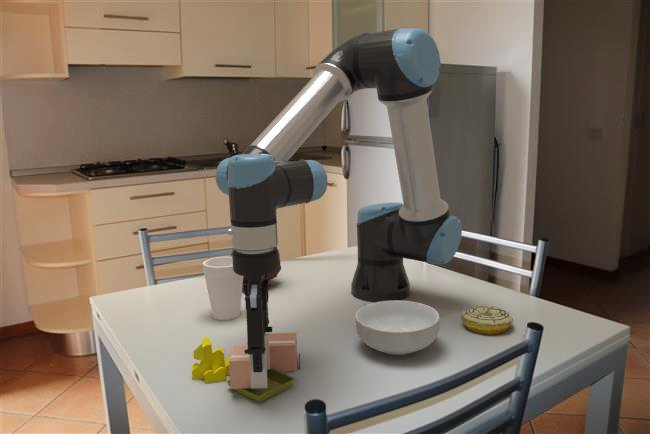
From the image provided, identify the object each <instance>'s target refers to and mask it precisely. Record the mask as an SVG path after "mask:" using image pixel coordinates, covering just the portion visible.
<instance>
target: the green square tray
mask: <svg viewBox="0 0 650 434" xmlns="http://www.w3.org/2000/svg"><path fill="white" fill-rule="evenodd" d="M295 380H296V378H295V377H293V376H291V375H289V374H286V373H284V372H283V371H277V370H275V369H273V368H270V370H267V383H268V387H267V388H256V389H251V388H244V389H233V390H234V391H236V392H237V393H239V394H242V395H244V396H246V397H248V398H250V399H252V400H255V401H256V402H259V403H261V402H263V401H264V400H265V401H266V400H267V399H268V398H271V397H273V396H274V395H276V394H278V393H280V392H282V391H284V390H286V389H288V388H289V387H290V386H291V385H292V384H293V383H294V382H295ZM226 383H227V385H228V386H229V387H230V388H231V386H230V379H228V380H226Z"/></svg>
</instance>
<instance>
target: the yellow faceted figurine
mask: <svg viewBox="0 0 650 434" xmlns="http://www.w3.org/2000/svg"><path fill="white" fill-rule="evenodd" d="M230 356H231V354H230V355H229V356H228V357H226V358H225V351H224V349H222V348H221V347H217V348H216V349H214V350H213V348H212V341H211V339H210V338H209V337H208V336H207V335H206V336H205V337H204V338H203V339H202V341H201V344H200V345H199V346H198V347H197V348H196V349H195V350H194V351H193V359H194V360H196V361H200V362H199V363H197V362H195V363H194V364H191V376H192V377H191V379H192V380H197V379H204V384H210V383H218V382H224V381H225V382H227V376H230V369H229V360H230Z"/></svg>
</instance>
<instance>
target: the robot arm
mask: <svg viewBox="0 0 650 434" xmlns="http://www.w3.org/2000/svg"><path fill="white" fill-rule="evenodd" d="M440 69H441V55H440V50H439V48H438V45H437V43H436V41H435V39H434V38H433V37H432V35H430V34H429V33H428V31H426V30H424V29H422V28H419V27H417V28H415V27H413V28H406V27H401V28H395V29H391V30H389V29H388V30H382V31H375V32H364V33H361V34H357V35H354V36H353V37H350V38H348V39H347V40H346V41H344V42H342V43H340V44H339V45H337V47H336V48H334V49H333V50H332V51H331V52H330V53H328V54H327V55H326V56H325V57H324V58H323V59H322V60H321V61H320V62H319V63H318V64H317V66H315V68H314V69H313V71H312V72H313V73H312V78H311V79H310V80H309V81H308V82H307V84H305V85H304V86H303V88H302V89H301V90H300V91H299V92H298V93H297V94H296V95H295V96H294V97H293V98H292V100H290V102H289V103H288V104H287V105H286V106H285V107H284V108H283V109H282V110H281V111H280V113H278V115H277V116H276V117H275V118H273V120H272V121H271V122H270V123H269V124H268V125H267V127H266V128H265V129H264V130H263V131H262V132H261V133H260V134H259V135H258V136H257V138H256V139H254V141H253V142H252V143H251V144H250V145H249V146H248V147H247V148H246V149H245V150H244V151H243V152H242V153H241V154H236V155H233V156H231V157H226V158H225V159H222V161H220V162H219V164H218V165H217V168H216V171H215V181H216V185H217V186H216V187H218V189H219V190H220V191H221V192H222V193H223V194H225V195H227V196H228V204H229V217H230V218H229V219H230V229H227V234H228V236H231V247H232V249H233V248H234V249H235V250H234V251H233V252H232V251H231V252H232V260H233V271H234V272H235V273H236V274H238V275H241V276H246V277H247V278H248V280H245V284H243V294H244V296H245V297H244V304H245V310H246V331H247V332H246V336H247V339H246V340H247V342H248V349H245V354H249V358H250V377H251V389H256V388H267V387H268V383H267V370H270V353H269V334H268V333H273V326H269V324H270V319H269V304H268V303H269V297H270V296H269V290H270V281H269V279H267V275H269V274H272V273H274V272H276V271H277V269H278V251H279V249H278V248H277V249H278V250H277V249H276V248H275V247H276V246H278V243H279V242H278V240H279V239H278V237H279V236H278V222H277V218H278V217H277V209H282V208H285V207H291V206H297V205H302V204H306V205H307V204H309V203H311V202H315V201H317V200H319V199H321V198H322V197H323V196H324V195H325V194H326V191H327V189H328V174H327V171H326V169H325V168H324V166H323V165H322V164H321V163H320V162H318V161H316V160H313V159H307V160H306V159H299V160H294V161H289V160H290V159H291V158H292V157H293V155H294V154H295V153H296V152H297V151H298V150H299V148H300V147H301V146H302V145H303V144H304V143H305V142H306V141H307V140H308V138H309V137H310V136H311V134H312V133H313V132H314V131H315V130H316V129H317V127H318V126H319V125H320V124H322V122H323V121H324V119H325V118H327V117H328V115H329V114H330V112H332V110H334V108H335V107H336V106H337V104H339V102H345V101H347V100H348V99H349V98H350V97H351V96H352V94H353V93H355V92H357V91H361V90H365V89H376V94H377V99H378V101H379V102H380V103H381V104H383V105H384V106H385V107H386V110H387V115H388V120H389V128H390V132H391V133H390V134H391V138H392V139H391V140H392V145H393V150H394V151H393V152H394V155H395V163H396V167H397V173H398V174H397V175H398V179H399V180H398V181H399V185H400V190H401V198H402V202H384V203H377V204H376V203H375V204H369V205H365V206H362V207H360V209H359V210H357V221H356V239H357V241H356V242H357V243H356V244H357V245H356V246H357V264H356V269H355V271H354V274H353V277H352V280H351V284H350V285H351V286H350V289H351V292H350V293H351V294H352V296H354V297H355V298H358V299H360V300H364V301H369V302H381V301H393V300H403V299H405V298H407V297H408V296H409V295H410V293H411V285H410V281H409V278H408V277H409V276H408V275H407V271H406V267H405V266H404V265H405V264H404V259H405V260H407V259H408V260H410V261H411V260H412V261H419V262H421V263H422V262H424V263H427V264H429V265H431V264H436V265H446V264H447V263H449V262H450V261H451V260H452V259H453V258H454V257H455V255H456V253H457V251H458V249H459V246H460V243H461V241H462V235H463V226H462V222H461V219H459V217H457V216H455V215H451V214H450V210H449V209H450V207H449V204H448V203H447V202H446V201H445V200H444V199H442V198H441V192H440V186H439V185H440V184H439V177H438V169H437V165H436V163H437V162H436V156H435V147H434V143H433V135H432V130H431V128H432V127H431V123H430V122H431V121H430V114H429V108H428V97H429V96H430V95H431V93H432V92H433V85H434V84H435V83H436V82H437V80H438V78H439V76H440V74H441V73H440Z"/></svg>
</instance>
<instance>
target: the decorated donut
mask: <svg viewBox="0 0 650 434" xmlns="http://www.w3.org/2000/svg"><path fill="white" fill-rule="evenodd" d="M461 321H462V324H463V325H464V327H466V329H467V330H469V331H471V332H473V333H475V334H476V333H477V334H481V335H491V336H493V335H499V334H504V333H506V332H507V331H508V330H509V329H510V327H511V325H513V322H514V318H513V317H512V314H510V313H509V312H508V311H506V310H504V309H503V308H499V307H496V306H495V305H494V306H492V305H479V306H478V305H477V306H471V307H468V308H466V309H464V310H463V311H462V312H461Z"/></svg>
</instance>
